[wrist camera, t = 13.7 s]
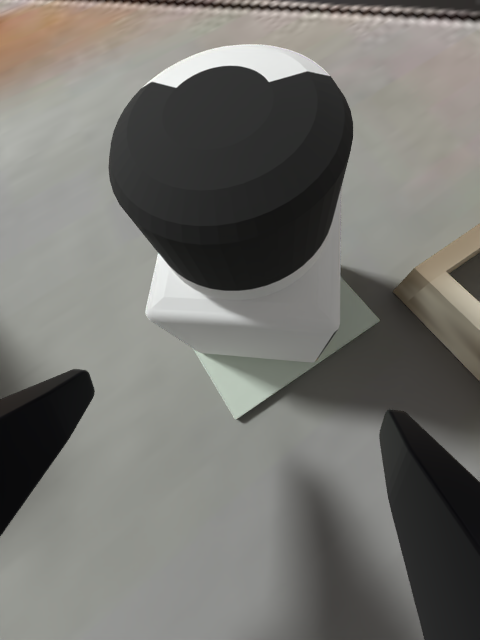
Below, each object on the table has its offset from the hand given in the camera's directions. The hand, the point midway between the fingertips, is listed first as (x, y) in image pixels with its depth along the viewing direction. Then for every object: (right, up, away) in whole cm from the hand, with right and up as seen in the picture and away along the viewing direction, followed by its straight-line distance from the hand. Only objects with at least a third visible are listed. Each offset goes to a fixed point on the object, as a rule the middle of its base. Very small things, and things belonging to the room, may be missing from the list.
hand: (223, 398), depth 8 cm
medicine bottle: (+2, +3, +9) cm, 10 cm away
